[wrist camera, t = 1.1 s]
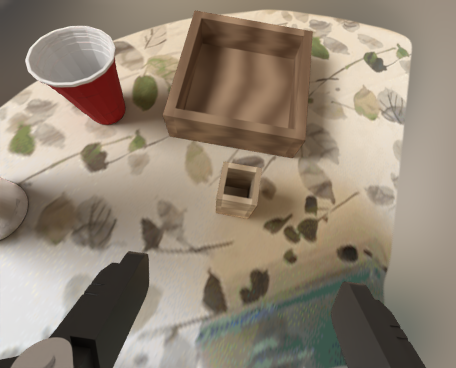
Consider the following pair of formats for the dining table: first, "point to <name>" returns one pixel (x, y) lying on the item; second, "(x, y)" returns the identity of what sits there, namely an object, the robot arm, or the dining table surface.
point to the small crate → (238, 190)
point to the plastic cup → (80, 70)
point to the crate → (241, 85)
